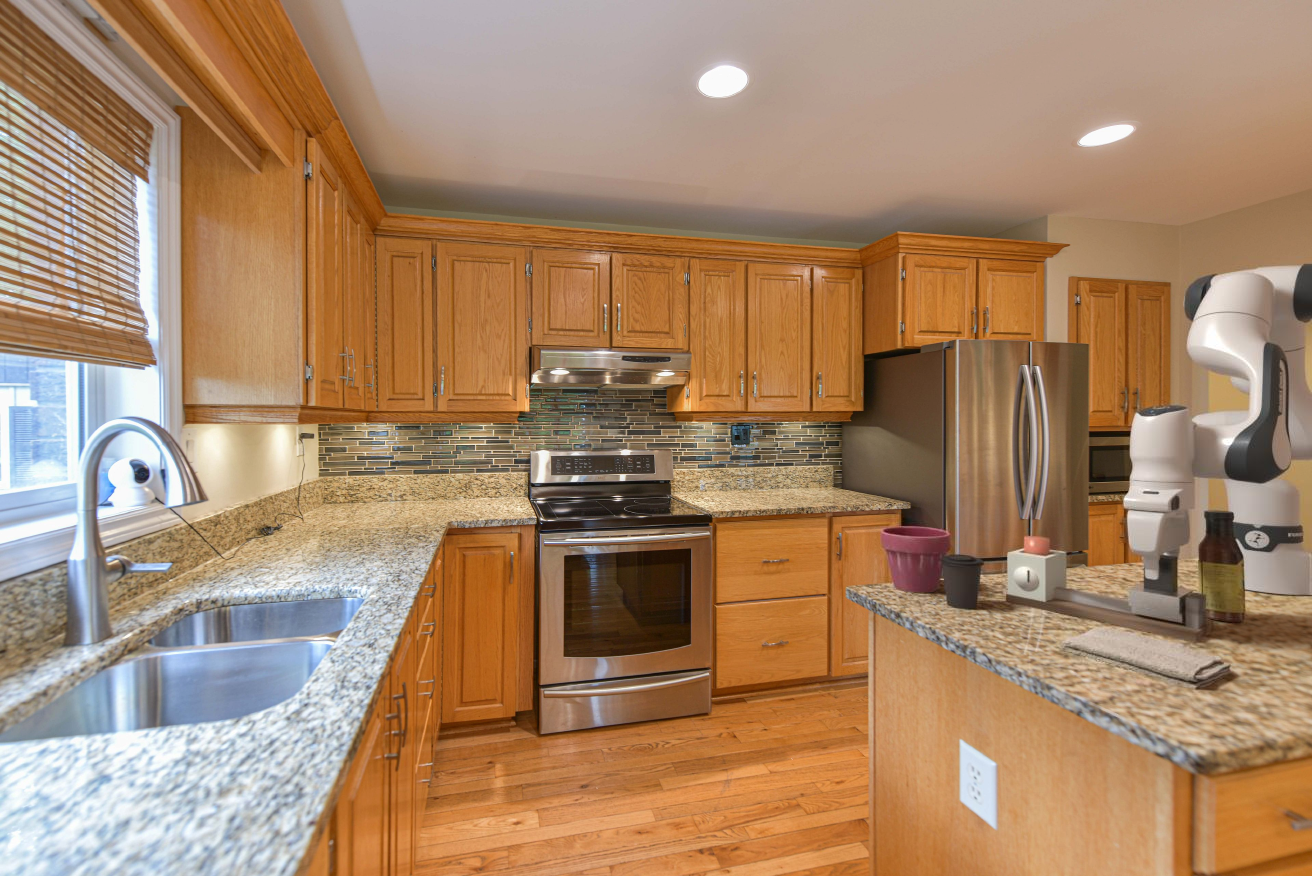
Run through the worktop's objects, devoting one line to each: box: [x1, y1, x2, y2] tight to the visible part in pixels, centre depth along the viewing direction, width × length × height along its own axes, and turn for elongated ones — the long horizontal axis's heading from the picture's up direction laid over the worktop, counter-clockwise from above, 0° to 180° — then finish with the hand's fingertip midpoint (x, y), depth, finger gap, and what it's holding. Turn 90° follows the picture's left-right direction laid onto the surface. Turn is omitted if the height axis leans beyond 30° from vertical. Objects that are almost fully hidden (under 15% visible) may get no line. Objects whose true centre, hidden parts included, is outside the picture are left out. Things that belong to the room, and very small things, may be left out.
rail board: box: [1005, 587, 1215, 643], centre depth 113 cm, size 11×30×6 cm, turn 36°
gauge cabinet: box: [1006, 547, 1067, 602], centre depth 122 cm, size 10×7×10 cm
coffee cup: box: [939, 553, 985, 610], centre depth 120 cm, size 8×8×10 cm
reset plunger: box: [1023, 535, 1051, 556], centre depth 122 cm, size 4×4×6 cm
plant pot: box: [880, 525, 951, 594], centre depth 133 cm, size 14×14×13 cm
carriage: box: [1128, 554, 1194, 623], centre depth 106 cm, size 8×7×11 cm
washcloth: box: [1060, 626, 1232, 690], centre depth 91 cm, size 12×18×3 cm, turn 30°
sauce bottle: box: [1197, 509, 1247, 623], centre depth 110 cm, size 7×6×20 cm
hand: (1161, 574), depth 106 cm, fingers open, 8 cm apart
